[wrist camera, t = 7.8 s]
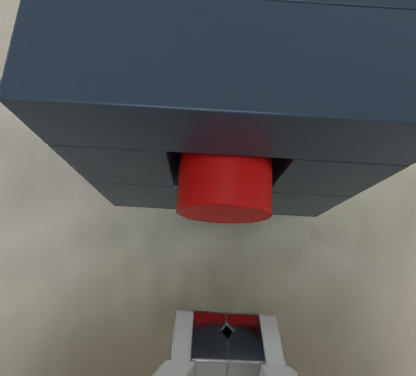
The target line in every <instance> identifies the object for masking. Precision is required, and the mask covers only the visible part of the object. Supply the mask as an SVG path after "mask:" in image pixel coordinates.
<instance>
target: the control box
mask: <svg viewBox="0 0 416 376" xmlns="http://www.w3.org/2000/svg"><path fill="white" fill-rule="evenodd" d="M0 102H1V103H2V104H3V105H4V106H6V107H7V108H8V109H9V110H10V111H11V112H12V113H13V114H14V115H15V116H17V117H18V118H19V119H20V120H21V121H22V122H23V123H24V124H25V125H26V126H28V127H29V128H30V129H31V130H32V131H33V132H34V133H35V134H36V135H38V136H39V137H40V138H41V139H42V140H43V141H44V142H45V143H46V144H48V146H49V147H51V148H52V149H53V150H54V151H55V152H56V153H57V154H58V155H59V156H60V157H62V158H63V159H64V160H65V161H66V162H67V163H68V164H69V165H70V166H71V167H73V168H74V169H75V170H76V171H77V172H78V173H79V174H80V175H81V176H83V177H84V178H85V179H86V180H87V181H88V182H89V183H90V184H91V185H92V186H93V187H95V188H96V189H97V190H98V191H99V192H100V193H101V194H102V195H103V196H105V197H106V198H107V199H108V200H109V201H110V202H111V203H112V204H113V205H115V206H134V207H152V208H170V209H176V204H177V191H178V178H179V165H180V152H187V153H204V154H221V155H238V156H256V157H272V214H279V215H297V216H315V217H316V216H318V215H320V214H321V213H323V212H325V211H327V210H329V209H331V208H333V207H334V206H336V205H338V204H340V203H342V202H344V201H346V200H347V199H349V198H351V197H353V196H355V195H357V194H358V193H360V192H362V191H364V190H366V189H368V188H370V187H371V186H373V185H375V184H377V183H379V182H381V181H383V180H384V179H386V178H388V177H390V176H392V175H394V174H396V173H397V172H399V171H401V170H403V169H405V168H407V167H409V165H412V164H414V163H416V0H21V1H20V5H19V9H18V13H17V17H16V21H15V25H14V29H13V33H12V37H11V41H10V45H9V49H8V53H7V57H6V61H5V65H4V69H3V73H2V77H1V81H0Z"/></svg>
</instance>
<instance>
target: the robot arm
mask: <svg viewBox="0 0 416 376" xmlns="http://www.w3.org/2000/svg"><path fill="white" fill-rule="evenodd" d="M193 313H194V317H193ZM153 376H299V375H298V373H297V372H296V371H295V370H294V369H293V367H292V366H287V365H286V363H285V358H284V353H283V348H282V343H281V338H280V333H279V328H278V323H277V318H276V316H275V315H274V314H257V313H238V312H225V313H223V312H210V311H197V310H181V309H177V312H176V318H175V326H174V335H173V343H172V352H171V360H165V361H164V362H163V364H162V365H161V366H160V367H159V369H158V370H157V371H156V372H155V373H154V375H153Z"/></svg>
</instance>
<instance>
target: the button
mask: <svg viewBox="0 0 416 376" xmlns="http://www.w3.org/2000/svg"><path fill="white" fill-rule="evenodd" d="M176 211H177V213H178V214H179V215H181V216H183V217H186V218H189V219H193V220H198V221H205V222H215V223H250V222H258V221H263V220H266V219H268V218H270V217H271V216H272V157H256V156H238V155H221V154H204V153H187V152H180V165H179V178H178V191H177V204H176Z"/></svg>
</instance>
